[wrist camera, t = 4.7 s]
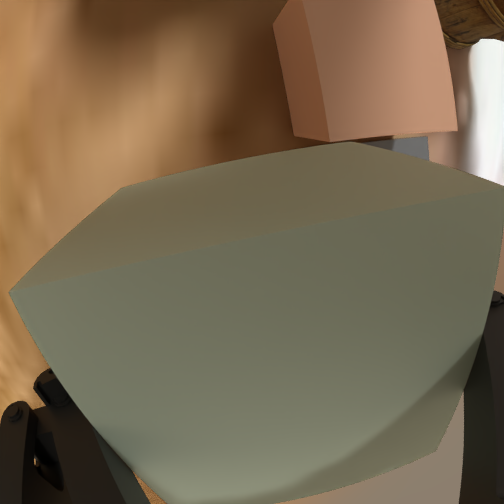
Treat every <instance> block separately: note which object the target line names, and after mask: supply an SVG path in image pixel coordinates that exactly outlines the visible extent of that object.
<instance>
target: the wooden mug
mask: <svg viewBox="0 0 504 504" xmlns="http://www.w3.org/2000/svg"><path fill="white" fill-rule="evenodd" d="M434 3H435V6H436V10H437V13H438V17H439V21H440V25H441V29H442V33H443V37H444V42H445V45H446V46H448V47H451V48H455V49H461V48H465V47H468V46H471V45H474V44H476V43H477V42H479V40H480V39H497V40H500V41H504V0H434Z"/></svg>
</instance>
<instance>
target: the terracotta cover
mask: <svg viewBox="0 0 504 504" xmlns="http://www.w3.org/2000/svg"><path fill="white" fill-rule="evenodd" d="M272 26H273V31H274V35H275V40H276V45H277V49H278V54H279V59H280V64H281V69H282V74H283V79H284V84H285V89H286V95H287V100H288V105H289V111H290V116H291V122H292V128H293V134H294V136H297V137H303V138H309V139H315V140H320V141H326V142H336V141H344V140H352V139H360V138H369V137H378V136H388V135H399V134H412V133H426V132H443V131H458V129H457V118H456V109H455V100H454V93H453V85H452V79H451V73H450V67H449V62H448V56H447V51H446V46H445V42H444V37H443V33H442V29H441V25H440V21H439V17H438V13H437V10H436V6H435V3H434V0H288V1H287V3H286V5H285V6H284V8H283V9H282V11H281V12H280V14H279V15H278V17H277V18H276V20H275V21H274V23H273V25H272Z"/></svg>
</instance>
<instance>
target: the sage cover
mask: <svg viewBox="0 0 504 504" xmlns="http://www.w3.org/2000/svg"><path fill="white" fill-rule="evenodd" d="M503 228H504V186H502V185H500V184H497V183H494V182H492V181H489V180H486V179H483V178H481V177H478V176H475V175H472V174H469V173H466V172H463V171H460V170H457V169H454V168H451V167H448V166H444V165H441V164H438V163H435V162H431V161H428V160H424V159H421V158H417V157H414V156H410V155H406V154H403V153H399V152H395V151H391V150H387V149H383V148H379V147H374V146H370V145H366V144H361V143H357V142H352V141H349V142H341V143H334V144H326V145H319V146H313V147H306V148H300V149H294V150H288V151H282V152H276V153H270V154H265V155H259V156H254V157H249V158H244V159H239V160H234V161H229V162H224V163H219V164H215V165H210V166H206V167H201V168H197V169H193V170H188V171H184V172H180V173H176V174H172V175H168V176H164V177H160V178H156V179H152V180H148V181H145V182H141V183H137V184H134V185H130V186H126V187H123V188H121V189H120V190H118V191H117V192H116V193H115V194H113V195H112V196H111V197H110V198H109V199H107V200H106V201H105V202H104V203H102V204H101V205H100V206H99V207H98V208H97V209H95V210H94V211H93V212H92V213H91V214H89V215H88V216H87V217H86V218H85V219H84V220H83V221H81V222H80V223H79V224H78V225H77V226H76V227H75V228H74V229H72V230H71V231H70V232H69V233H68V234H67V235H66V236H65V237H64V238H63V239H61V240H60V241H59V242H58V243H57V244H56V245H55V246H54V247H53V248H52V249H51V250H50V251H49V252H48V253H47V254H46V255H45V256H43V257H42V258H41V259H40V260H39V261H38V262H37V263H36V264H35V265H34V266H33V267H32V268H31V269H30V270H29V271H28V272H27V273H26V274H25V275H24V276H23V278H22V279H21V280H20V281H19V282H18V283H17V284H16V285H15V286H14V287H13V288H12V289H11V290H10V291H9V294H10V296H11V298H12V300H13V302H14V304H15V306H16V308H17V310H18V312H19V314H20V316H21V318H22V320H23V322H24V324H25V325H26V327H27V329H28V331H29V333H30V334H31V336H32V338H33V340H34V341H35V343H36V345H37V346H38V348H39V350H40V351H41V353H42V355H43V356H44V358H45V360H46V361H47V363H48V364H49V366H50V367H51V369H52V371H53V372H54V374H55V375H56V377H57V378H58V380H59V381H60V382H61V384H62V385H63V387H64V388H65V390H66V391H67V393H68V394H69V395H70V397H71V398H72V399H73V401H74V402H75V404H76V405H77V406H78V408H79V409H80V410H81V411H82V413H83V414H84V415H85V417H86V418H87V419H88V420H89V422H90V423H91V424H92V425H93V427H94V428H95V429H96V430H97V432H98V433H99V434H100V435H101V436H102V438H103V439H104V440H105V441H106V442H107V443H108V444H109V446H110V447H111V448H112V449H113V450H114V451H115V452H116V453H117V455H118V456H119V457H120V458H121V459H122V460H123V461H124V462H125V463H126V464H127V465H128V466H129V467H130V468H131V470H132V471H133V472H134V473H135V474H136V475H137V476H138V477H139V478H140V479H141V480H142V481H143V482H144V483H145V484H147V485H148V486H149V487H150V488H151V489H152V490H153V491H154V492H155V493H156V494H157V495H158V496H159V497H160V498H161V499H163V500H164V501H165V502H166V503H167V504H274V503H280V502H285V501H290V500H295V499H299V498H304V497H308V496H312V495H316V494H320V493H324V492H328V491H332V490H335V489H339V488H342V487H345V486H348V485H352V484H355V483H358V482H361V481H364V480H367V479H370V478H373V477H375V476H378V475H381V474H384V473H386V472H389V471H391V470H394V469H397V468H399V467H401V466H404V465H406V464H409V463H411V462H413V461H416V460H418V459H420V458H422V457H424V456H427V455H429V454H431V453H433V452H435V451H436V450H437V448H438V446H439V444H440V442H441V440H442V438H443V436H444V434H445V432H446V429H447V428H448V425H449V423H450V421H451V419H452V417H453V414H454V412H455V410H456V407H457V405H458V403H459V400H460V398H461V395H462V393H463V390H464V388H465V385H466V382H467V380H468V377H469V374H470V371H471V369H472V366H473V363H474V360H475V357H476V354H477V351H478V347H479V344H480V341H481V337H482V334H483V330H484V327H485V323H486V319H487V316H488V312H489V307H490V303H491V299H492V294H493V290H494V285H495V280H496V275H497V269H498V263H499V257H500V250H501V244H502V236H503Z"/></svg>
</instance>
